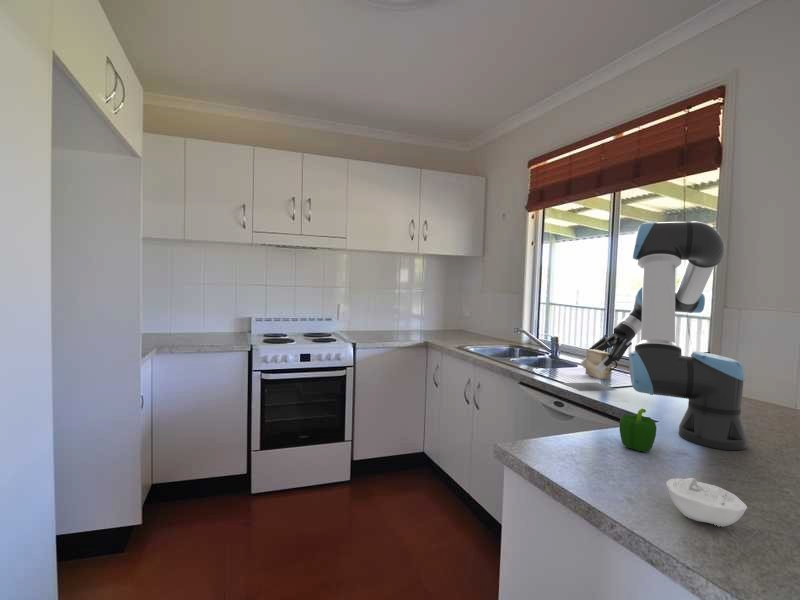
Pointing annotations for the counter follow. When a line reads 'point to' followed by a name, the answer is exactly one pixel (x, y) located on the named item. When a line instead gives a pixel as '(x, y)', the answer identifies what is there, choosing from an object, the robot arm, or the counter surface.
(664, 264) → the robot arm
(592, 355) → the birch block
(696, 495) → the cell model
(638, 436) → the bell pepper
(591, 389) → the mat
